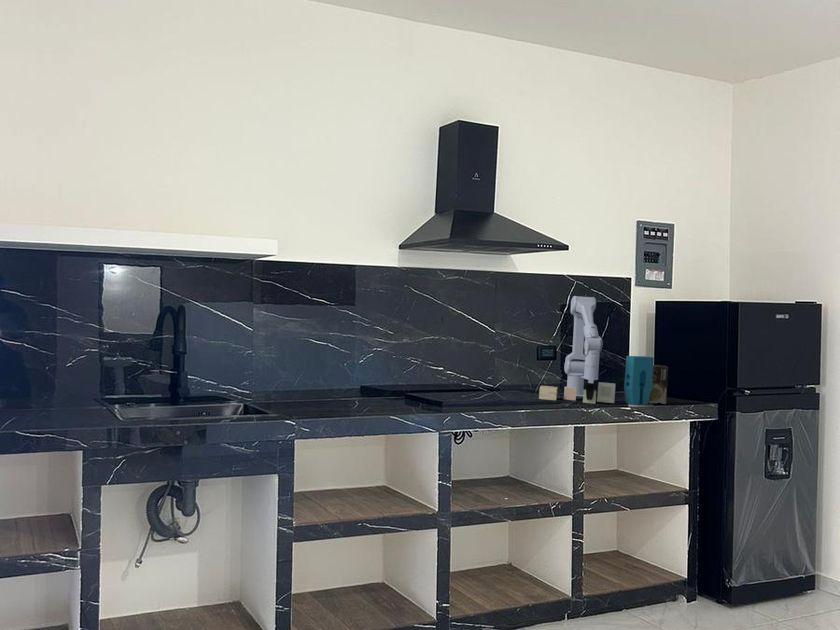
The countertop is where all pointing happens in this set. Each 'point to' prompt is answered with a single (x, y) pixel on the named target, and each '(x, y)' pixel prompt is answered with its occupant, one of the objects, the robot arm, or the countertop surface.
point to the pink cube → (570, 393)
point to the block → (638, 379)
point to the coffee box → (659, 385)
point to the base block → (548, 393)
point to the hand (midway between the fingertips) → (589, 398)
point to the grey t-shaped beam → (606, 392)
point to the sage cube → (589, 400)
